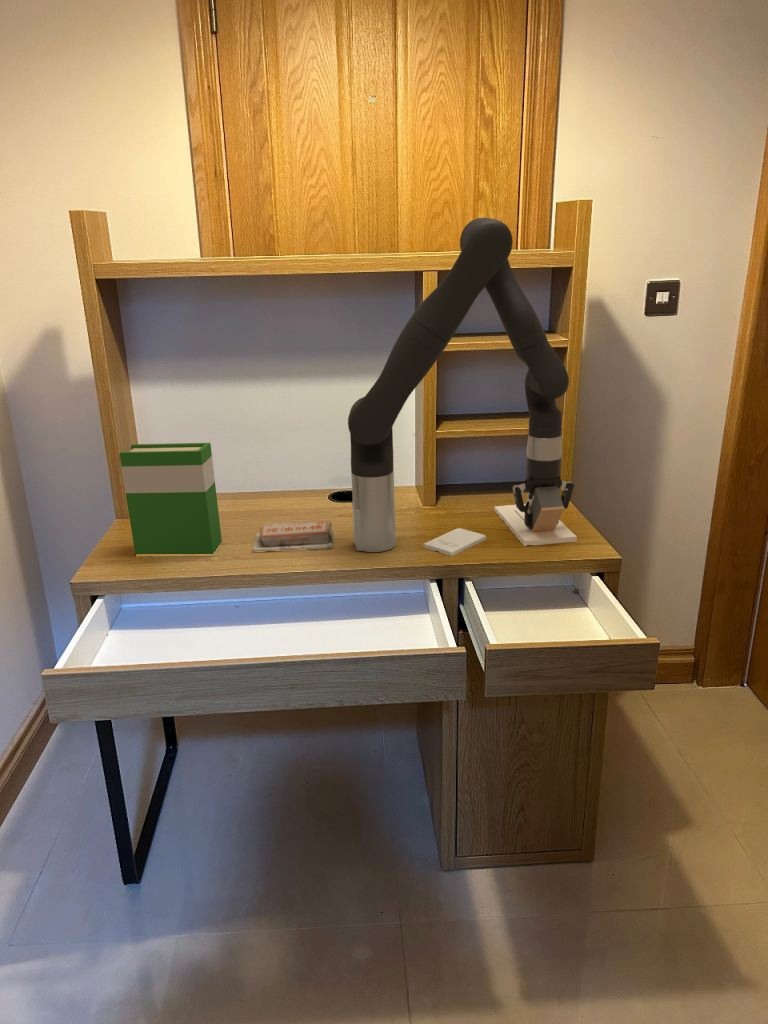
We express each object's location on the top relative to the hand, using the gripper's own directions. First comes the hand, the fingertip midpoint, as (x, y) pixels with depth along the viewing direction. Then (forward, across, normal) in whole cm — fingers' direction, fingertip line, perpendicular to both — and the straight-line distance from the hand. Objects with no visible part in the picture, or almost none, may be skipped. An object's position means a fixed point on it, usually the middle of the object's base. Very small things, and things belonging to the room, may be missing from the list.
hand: (541, 526), depth 171 cm
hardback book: (+2, -82, +9) cm, 82 cm away
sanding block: (-3, 0, -4) cm, 5 cm away
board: (+2, 0, +6) cm, 6 cm away
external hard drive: (+3, -20, -1) cm, 21 cm away
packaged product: (+3, -56, +8) cm, 57 cm away
